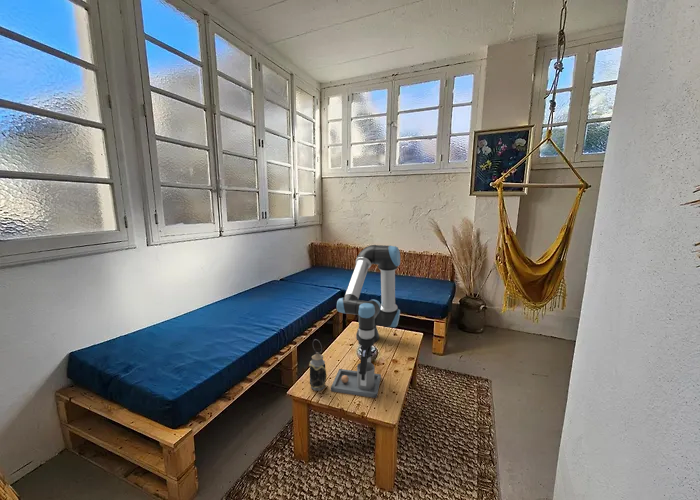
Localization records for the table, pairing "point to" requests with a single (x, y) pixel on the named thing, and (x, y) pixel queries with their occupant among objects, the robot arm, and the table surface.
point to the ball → (344, 378)
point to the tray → (354, 384)
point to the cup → (369, 377)
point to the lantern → (317, 371)
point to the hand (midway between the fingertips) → (365, 376)
